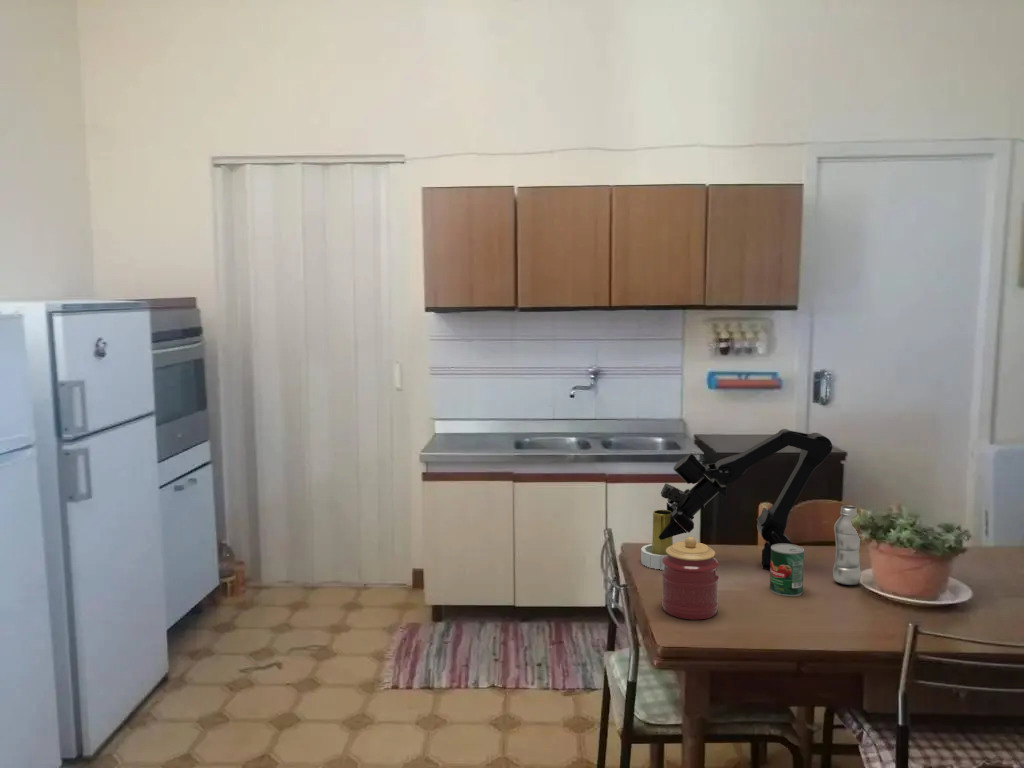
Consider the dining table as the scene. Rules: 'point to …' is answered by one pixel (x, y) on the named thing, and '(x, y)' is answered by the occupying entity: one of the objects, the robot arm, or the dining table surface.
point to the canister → (690, 580)
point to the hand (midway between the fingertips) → (658, 533)
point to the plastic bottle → (846, 548)
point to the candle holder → (651, 558)
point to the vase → (659, 524)
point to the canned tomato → (786, 569)
